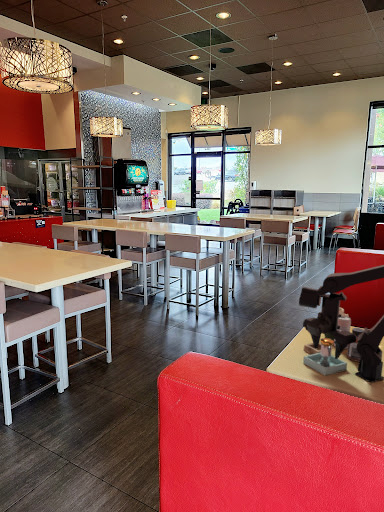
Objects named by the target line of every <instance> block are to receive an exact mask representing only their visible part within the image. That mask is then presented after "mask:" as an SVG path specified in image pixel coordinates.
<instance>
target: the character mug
mask: <svg viewBox="0 0 384 512" xmlns="http://www.w3.org/2000/svg"><path fill="white" fill-rule="evenodd" d="M339 314H341V316H346V317H349V314H348V313H347V314H346V313H345V309H344V308H342V307H340V308H339ZM323 335H324V336H325V338H327V339H331V340H334V338H335V336H334V335H332V334H329V333H326V334H323Z"/></svg>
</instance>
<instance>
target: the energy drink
mask: <svg viewBox="0 0 384 512" xmlns="http://www.w3.org/2000/svg"><path fill="white" fill-rule="evenodd" d="M338 325H339V326H340V329H337V331H339V332H341V331H349V332H351V325H352V319H351V317H349V316H348V317H346V316H341V317H340V318H338ZM334 341H336V340H335V338H334V339H333V346H334V348H336V345H335V343H334ZM346 349H347V350H348V345H347V346H346V348H345V349H344V350H346Z"/></svg>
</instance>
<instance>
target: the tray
mask: <svg viewBox="0 0 384 512" xmlns="http://www.w3.org/2000/svg"><path fill="white" fill-rule="evenodd" d="M319 361H320V353H317V354H309V355H305V356H303V362H302V363H303V364H304V365H306V366H308V367H310V368H311V369H312V370H315V371H317V372H318V373H320V374H322V375H323V376H329V375H333V374H336V373H340V372H343V371H347V368H348V362H346V361H344V360H342V359H340V358H338V359H335V355H332V354H331V361H330V367H324V366H322V365H320V364H319Z"/></svg>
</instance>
